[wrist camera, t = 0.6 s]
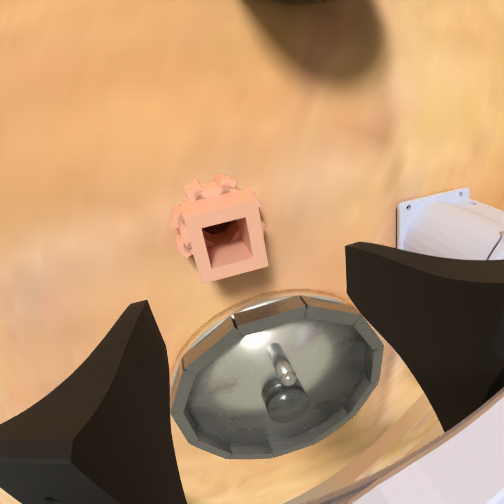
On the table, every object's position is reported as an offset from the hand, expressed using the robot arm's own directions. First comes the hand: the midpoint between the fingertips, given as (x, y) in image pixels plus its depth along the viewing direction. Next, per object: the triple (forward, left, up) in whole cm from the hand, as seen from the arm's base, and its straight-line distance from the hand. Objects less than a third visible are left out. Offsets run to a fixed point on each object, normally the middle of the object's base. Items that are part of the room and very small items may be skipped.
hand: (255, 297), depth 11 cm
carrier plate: (-2, +16, -10) cm, 19 cm away
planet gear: (0, 0, -10) cm, 10 cm away
